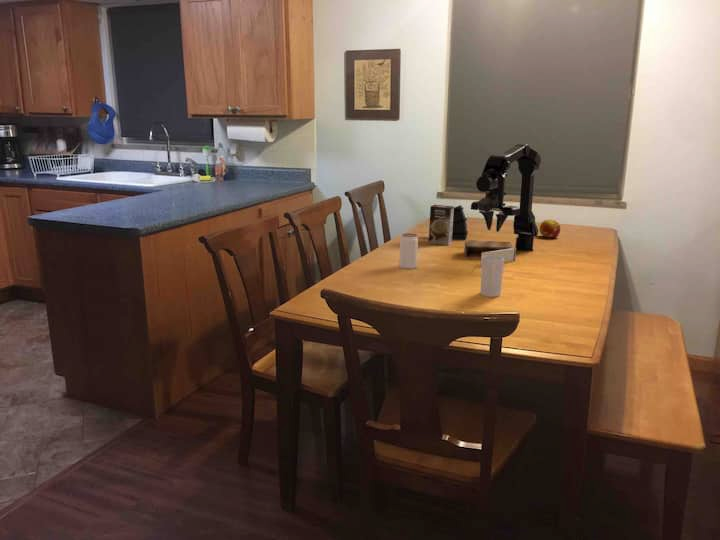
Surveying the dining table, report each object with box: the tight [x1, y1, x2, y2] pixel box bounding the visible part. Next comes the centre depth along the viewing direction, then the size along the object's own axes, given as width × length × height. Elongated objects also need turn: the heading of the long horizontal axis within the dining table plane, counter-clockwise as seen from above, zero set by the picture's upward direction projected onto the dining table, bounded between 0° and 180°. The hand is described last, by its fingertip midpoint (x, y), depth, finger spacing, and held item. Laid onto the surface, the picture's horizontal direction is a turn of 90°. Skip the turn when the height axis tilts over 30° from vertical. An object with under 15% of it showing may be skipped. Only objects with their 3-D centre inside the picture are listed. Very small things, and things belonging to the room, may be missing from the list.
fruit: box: [539, 219, 561, 239], centre depth 277 cm, size 10×9×8 cm
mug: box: [479, 255, 505, 298], centre depth 190 cm, size 10×7×12 cm, turn 170°
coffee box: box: [428, 204, 455, 246], centre depth 261 cm, size 9×6×16 cm
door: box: [480, 247, 517, 267], centre depth 230 cm, size 17×2×5 cm, turn 122°
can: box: [398, 232, 419, 270], centre depth 222 cm, size 6×6×12 cm
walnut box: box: [464, 239, 514, 260], centre depth 241 cm, size 18×10×5 cm, turn 82°
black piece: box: [452, 204, 469, 241], centre depth 272 cm, size 4×13×15 cm, turn 66°
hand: (493, 230), depth 230 cm, fingers open, 4 cm apart
